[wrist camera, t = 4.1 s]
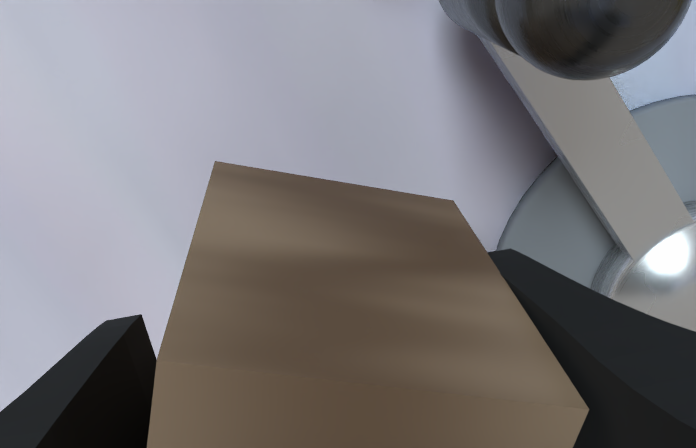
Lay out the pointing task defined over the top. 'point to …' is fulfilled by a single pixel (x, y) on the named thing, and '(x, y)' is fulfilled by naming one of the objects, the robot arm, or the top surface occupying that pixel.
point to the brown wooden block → (349, 328)
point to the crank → (600, 131)
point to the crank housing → (576, 213)
